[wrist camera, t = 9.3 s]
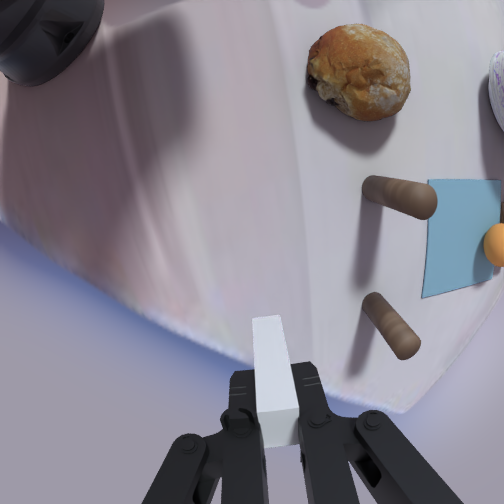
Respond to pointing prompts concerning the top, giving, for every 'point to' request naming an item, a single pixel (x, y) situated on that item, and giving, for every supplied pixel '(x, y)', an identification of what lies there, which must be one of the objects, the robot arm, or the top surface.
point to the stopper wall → (502, 213)
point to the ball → (495, 245)
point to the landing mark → (460, 234)
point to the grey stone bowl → (497, 86)
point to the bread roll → (360, 72)
